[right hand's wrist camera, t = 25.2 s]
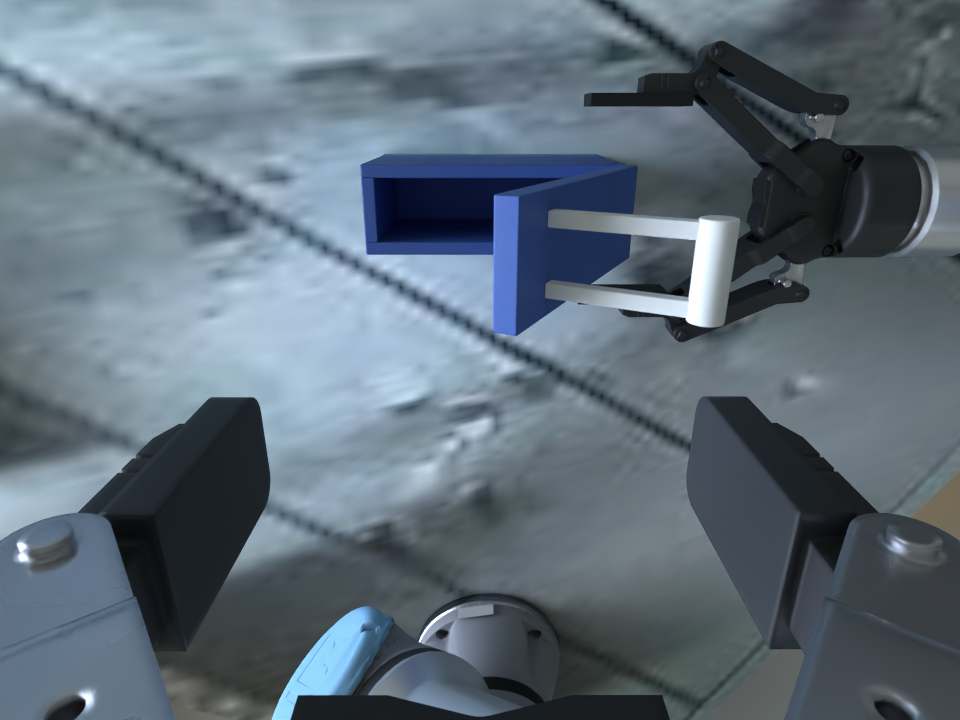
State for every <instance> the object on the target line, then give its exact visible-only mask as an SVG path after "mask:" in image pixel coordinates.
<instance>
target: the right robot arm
mask: <svg viewBox="0 0 960 720" xmlns="http://www.w3.org/2000/svg"><path fill="white" fill-rule="evenodd" d="M269 491H270V470H269V463H268V456H267V450H266V443H265V436H264V430H263V423H262V416H261V410H260V406H259V404H258V402H257V400H256V399H255V398H253V397H212V398H209V399H208V400H207V401H206V402H205V403H204V404H203V405H202V406H201V407H200V408H199V409H198V410H197V411H196V412H195V413H194V414H193V416H192V417H191V418H190V419H189V420H188V421H187V422H186V423H185V424H178V425H176V426H175V427H173V428H171V429H169V430H167V431H166V432H164V433H162V434H160V435H158V436H156V437H155V438H153V439H152V440H151V441H150V442H149V443H148V444H147V445H146V446H145V447H144V448H143V449H142V450H141V451H140V452H139V453H138V454H137V455H136V459H132V460H131V461H130V462H129V463H128V464H127V465H125V466H124V467H123V468H122V472H121V473H117V474H116V475H115V476H114V477H113V478H112V479H111V480H110V481H109V482H108V483H107V484H106V485H105V486H104V487H103V488H102V489H101V490H100V491H99V492H98V493H97V494H96V495H95V496H94V497H93V498H92V499H91V500H90V501H89V502H88V503H87V504H86V505H85V506H84V507H83V508H82V509H81V510H80V511H79V512H78V513H72V514H64V515H59V516H54V517H51V518H47V519H44V520H41V521H38V522H35V523H33V524H30V525H28V526H25V527H23V528H21V529H19V530H17V531H15V532H13V533H12V534H10V535H9V536H7V537H5V538H4V539H2V540H1V541H0V720H176V719H175V716H174V713H173V710H172V707H171V703H170V700H169V697H168V694H167V691H166V688H165V685H164V682H163V679H162V676H161V673H160V669H159V666H158V663H157V660H156V657H155V654H154V651H187V649H188V647H189V645H190V643H191V642H192V640H193V638H194V636H195V634H196V632H197V631H198V629H199V627H200V625H201V623H202V621H203V620H204V618H205V616H206V614H207V612H208V611H209V609H210V607H211V605H212V603H213V601H214V600H215V598H216V596H217V594H218V592H219V591H220V589H221V587H222V585H223V583H224V581H225V580H226V578H227V576H228V574H229V572H230V570H231V569H232V567H233V565H234V563H235V561H236V560H237V558H238V556H239V554H240V552H241V550H242V549H243V547H244V545H245V543H246V541H247V539H248V538H249V536H250V534H251V532H252V530H253V529H254V527H255V525H256V523H257V521H258V519H259V518H260V516H261V514H262V512H263V510H264V508H265V506H266V504H267V501H268V497H269ZM687 491H688V496H689V500H690V503H691V506H692V508H693V510H694V511H695V513H696V515H697V517H698V519H699V521H700V523H701V524H702V526H703V528H704V530H705V532H706V534H707V535H708V537H709V539H710V541H711V543H712V545H713V547H714V548H715V550H716V552H717V554H718V556H719V558H720V559H721V561H722V563H723V565H724V567H725V569H726V571H727V572H728V574H729V576H730V578H731V580H732V582H733V583H734V585H735V587H736V589H737V591H738V593H739V594H740V596H741V598H742V600H743V602H744V604H745V606H746V607H747V609H748V611H749V613H750V615H751V617H752V618H753V620H754V622H755V624H756V626H757V628H758V630H759V631H760V633H761V635H762V637H763V639H764V641H765V642H766V644H767V646H768V648H769V649H802V650H803V652H804V654H805V657H804V660H803V663H802V666H801V669H800V673H799V676H798V679H797V682H796V685H795V688H794V691H793V694H792V697H791V701H790V704H789V707H788V710H787V713H786V716H785V719H784V720H960V541H959V540H957V539H956V538H955V537H953V536H951V535H950V534H948V533H947V532H945V531H943V530H941V529H939V528H937V527H935V526H932V525H930V524H927V523H925V522H922V521H919V520H916V519H913V518H909V517H906V516H901V515H896V514H888V513H879V512H878V511H877V510H876V509H875V508H874V507H873V506H871V505H870V504H869V503H868V502H867V501H866V500H865V499H864V498H863V497H862V496H861V495H860V494H859V493H858V492H857V491H856V490H855V489H854V488H853V487H852V486H851V485H850V484H849V483H848V482H847V481H846V480H845V479H844V478H843V477H842V476H841V475H840V474H839V473H838V472H834V468H833V467H832V466H831V465H830V464H829V463H828V462H827V461H826V460H825V459H824V458H823V457H820V454H819V453H818V452H817V451H816V450H815V449H814V448H813V447H812V446H811V445H810V444H809V443H808V442H807V441H806V440H805V439H804V438H803V437H802V436H800V435H798V434H796V433H794V432H792V431H791V430H789V429H787V428H785V427H783V426H782V425H780V424H778V423H771V422H770V421H769V420H768V419H767V418H766V417H765V416H764V414H763V413H762V412H761V411H760V410H759V409H758V408H757V407H756V406H755V405H754V404H753V403H752V402H751V401H750V400H749V399H748V398H747V397H702V398H701V399H700V400H699V402H698V404H697V408H696V413H695V420H694V427H693V434H692V440H691V447H690V454H689V461H688V468H687ZM290 720H670V719H669V716H668V713H667V709H666V706H665V703H664V700H663V697H662V695H571V696H567V697H563V698H559V699H555V700H551V701H547V702H543V703H539V704H535V705H530V706H526V707H522V708H518V709H514V710H510V711H506V712H502V713H498V714H494V715H490V716H470V715H466V714H462V713H458V712H454V711H450V710H446V709H442V708H438V707H434V706H430V705H425V704H421V703H417V702H413V701H409V700H405V699H401V698H397V697H393V696H389V695H298V697H297V700H296V703H295V706H294V709H293V713H292V716H291V719H290Z"/></svg>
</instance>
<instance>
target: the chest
mask: <svg viewBox="0 0 960 720" xmlns="http://www.w3.org/2000/svg"><path fill="white" fill-rule="evenodd" d="M618 165H625V164H622V163H619V162H616V161H613V160H610V159H607V158H604V157H601V156H599V155H597V154H384V155H382V156H381V157H378V158H376V159H373V160H371V161H369V162H366V163H364V164H361V165H360V169H361V177H362V178H361V184H362V198H363V212H364V227H365V241H366V254H367V255H494V195H495V194H499V193H503V192H507V191H511V190H516V189H520V188H524V187H528V186H533V185H537V184H541V183H546V182H550V181H554V180H558V179H563V178H567V177H571V176H576V175H580V174H584V173H588V172H593V171H597V170H601V169H606V168H610V167H614V166H618Z"/></svg>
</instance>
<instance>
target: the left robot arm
mask: <svg viewBox="0 0 960 720" xmlns="http://www.w3.org/2000/svg"><path fill="white" fill-rule="evenodd" d="M717 73H718V74H720V75H722V76H724V77H725V78H727V79H729V80H731V81H733V82H735V83H736V84H738V85H740V86H742V87H744V88H746V89H747V90H749V91H751V92H753V93H755V94H757V95H758V96H760V97H762V98H764V99H766V100H767V101H769V102H771V103H773V104H775V105H777V106H778V107H780V108H782V109H784V110H787V111H789V112H793V113H798V114H799V116H798V120H799V123H800V124H801V125H802V126H804V127H806V128H807V129H808V130H809V132H810V137H809V139H806V140H804V141H803V142H801V143H800V144H798V145H797V146H795V147H794V148H792V149H790V148H789V147H788V146H786V145H785V144H784V143H782V142H781V141H779V140H777V139H776V138H775V137H774V136H773V135H772V134H771V133H770V132H769V131H768V130H767V129H766V128H765V127H764V126H763V125H762V124H761V123H760V122H759V121H758V120H757V119H756V118H755V117H754V116H753V115H752V114H751V113H750V112H749V111H748V110H747V109H746V108H745V107H744V106H743V105H742V104H741V103H740V102H739V101H738V100H737V99H736V98H735V97H734V96H733V95H732V94H731V93H730V92H729V91H728V90H727V89H726V88H725V87H724V86H723V85H722V84H721V83H720V82H719V81H718V80H717V79H716V76H717ZM693 100H694V101H695V102H696V103H697V104H699V105H700V106H701V107H702V108H703V109H704V110H705V111H706V112H707V113H708V114H709V115H710V116H711V117H712V118H713V119H714V120H715V121H716V122H717V123H718V124H719V125H720V126H721V127H722V128H723V129H724V130H725V131H726V132H728V133H729V134H730V135H731V136H732V137H733V138H734V139H735V140H736V141H737V142H738V143H739V144H740V145H741V146H742V147H743V148H744V149H745V150H746V151H747V152H748V153H749V156H750V157H751V158H752V159H753V160H754V161H755V162H756V163H757V164H758V165H759V166H760V167H761V168H762V170H761V172H760V173H759V175H758V176H757V178H754V179H753V185H752V196H753V202H752V204H751V207H750V209H749V211H748V216H747V223H748V224H749V225H750V229H751V231H749V232H748V233H746V234H745V235H744V236H742V237H741V238H739V239H738V240H737V247H736V253H735V259H734V266H733V272H732V279H731V282H733V281H734V280H736V279H737V278H739V277H740V276H742V275H743V274H744V273H746V272H747V271H749V270H750V269H752V268H753V267H755V266H757V265H761V264H764V263H765V262H767V261H769V260H770V259H771V258H773V257H774V256H776V255H779V256H780V257H781V258H782V259H784V260H786V262H785V265H784V267H783V268H782V269H780V270H778V271H775V272H773V273H771V274H770V276H769V279H765V280H761V281H757V282H754V283H751V284H749V285H747V286H744V287H742V288H739V289H737V290H735V291H732V292H730V293H729V298H728V304H727V310H726V317H725V323H724V324H723V325H722V326H724V325H726V324H729V323H731V322H734V321H736V320H739V319H741V318H743V317H746V316H748V315H751V314H753V313H756V312H758V311H761V310H763V309H765V308H768V307H770V306H773V305H775V304H782V303H794V302H802V301H804V300H806V299H807V298H808V296H809V289H808V288H807V287H806V286H804V285H803V280H804V271H805V263H808V262H809V261H811V260H814V259H817V258H821V257H881V256H887V257H960V146H927V145H913V146H905V147H899V146H885V145H838V144H836V143H834V142H833V141H831V136H832V133H833V129H834V126H835V122H836V118H837V115H841V114H843V113H844V112H845V111H846V110H847V109H848V107H849V100H848V98H847V97H846V96H843V95H836V94H825V93H816V92H814V91H813V90H811V89H809V88H807V87H805V86H804V85H802V84H800V83H798V82H796V81H795V80H793V79H791V78H789V77H787V76H786V75H784V74H782V73H780V72H778V71H777V70H775V69H773V68H771V67H769V66H768V65H766V64H764V63H762V62H761V61H759V60H757V59H755V58H753V57H752V56H750V55H748V54H746V53H744V52H743V51H741V50H739V49H737V48H735V47H734V46H732V45H730V44H728V43H726V42H724V41H718V42H715V43H711V44H708V45H705V46H703V47H702V48H701V49H700V50H699V52H698V55H697V61H696V63H695V65H694V67H693V69H692V70H691V71H690V72H689V73H652V74H648V75H645V76H642V77H640V78H638V89H637V93H589V94H585V96H584V106H693ZM690 283H691V276H690V277H689V278H687V279H686V280H685V281H683V282H682V283H680V284H679V285H678V286H676V287H675V288H673V289H672V290H670V291H669V292H667V291H666V290H665V289H664V288H663V287H662V286H661V285H660V284H590V285H596V286H604V287H612V288H620V289H627V290H635V291H643V292H651V293H659V294H667V295H675V296H683V297H689V291H690ZM578 304H584V303H578ZM618 309H619V308H618ZM619 311H620V312H621V313H622V314H623V315H625V316H628V317H664V318H665V322H666V323H665V327H666V329H667V330H668V331H669V332H670V333H671V335H672V336H673V337H674V338H675V339H676V340H677V341H679V342H685V341H687V340H690V339H692V338H695V337H697V336H700V335H702V334H704V333H707V332H709V331H712V330H714V329H717V328H719V327H700V326H696V325H693V324H690V323H688V322H687V321H686V318H683V317H675V316H668V315H661V314H654V313H647V312H640V311H633V310H626V309H619ZM722 326H720V327H722ZM559 665H560V652H559V645H558V638H557V635H556V632H555V629H554V627H553V626H552V624H551V622H550V621H549V620H548V618H547V617H546V616H545V615H544V614H543V613H542V612H541V611H539V610H538V609H537V608H535V607H534V606H532V605H530V604H529V603H527V602H524V601H522V600H520V599H517V598H514V597H510V596H505V595H498V594H478V595H471V596H467V597H463V598H460V599H457V600H454V601H452V602H450V603H448V604H446V605H444V606H443V607H441V608H440V609H438V610H437V611H436V612H435V613H434V614H432V616H431V617H430V618H429V619H428V620H427V621H426V623H425V624H424V626H423V628H422V630H421V632H420V635H419V639H418V641H417V640H415V639H414V638H412V637H411V636H409V635H408V634H407V633H405V632H404V631H403V630H402V629H401V628H400V627H399V626H397V625H396V624H395V623H394V619H393V618H392V617H391V616H386V615H385V614H384V613H382V612H381V611H379V610H378V609H376V608H374V607H370V606H365V607H360V608H358V609H355V610H353V611H351V612H350V613H348V614H347V615H345V616H344V617H343V618H341V619H340V620H339V621H338V622H337V623H336V624H335V625H334V626H332V627H331V628H330V629H329V630H328V631H327V632H326V633H325V634H324V635H323V636H322V638H321V639H320V640H319V641H318V642H317V643H316V645H315V646H314V647H313V648H312V649H311V651H310V652H309V653H308V655H307V656H306V657H305V659H304V660H303V661H302V663H301V664H300V666H299V667H298V669H297V670H296V672H295V673H294V675H293V676H292V678H291V680H290V681H289V683H288V685H287V687H286V688H285V690H284V692H283V694H282V696H281V698H280V700H279V703H278V705H277V707H276V709H275V712H274V715H273V718H272V720H290V719H291V716H292V713H293V709H294V706H295V703H296V700H297V697H298V695H389V696H393V697H397V698H401V699H405V700H409V701H413V702H417V703H421V704H425V705H430V706H434V707H438V708H442V709H446V710H450V711H454V712H458V713H462V714H466V715H470V716H490V715H494V714H498V713H502V712H506V711H510V710H514V709H518V708H522V707H526V706H530V705H535V704H539V703H543V702H547V701H551V700H552V698H553V693H554V689H555V685H556V681H557V676H558V672H559Z"/></svg>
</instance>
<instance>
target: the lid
mask: <svg viewBox="0 0 960 720" xmlns="http://www.w3.org/2000/svg"><path fill="white" fill-rule="evenodd" d="M636 176H637V166H633V165H618V166H614V167H610V168H606V169H601V170H597V171H593V172H588V173H584V174H580V175H576V176H571V177H567V178H563V179H558V180H554V181H550V182H546V183H541V184H537V185H533V186H528V187H524V188H520V189H516V190H511V191H507V192H503V193H499V194H495V195H494V266H493V332H496V333H501V334H507V335H513V336H517V335H519V334H520V333H521V332H523V331H524V330H526V329H527V328H529V327H530V326H531V325H533V324H534V323H536V322H537V321H539V320H540V319H541V318H543V317H544V316H546V315H547V314H549V313H550V312H551V311H553V310H554V309H556V308H557V307H559V306H560V305H562V304H563V303H564V302H566V301H569V302H577V303H584V304H591V305H598V306H605V307H612V308H619V309H626V310H633V311H640V312H647V313H654V314H661V315H668V316H675V317H683V318H686V321H687V322H688V323H690V324H693V325H696V326H700V327H720V326H722V325H723V324H724V323H725V317H726V310H727V304H728V298H729V291H730V285H731V279H732V272H733V266H734V259H735V253H736V247H737V240H738V234H739V228H740V219H739V218H737V217H732V216H723V215H706V216H701V217H700V218H699V219H689V218H675V217H662V216H648V215H634V214H633V209H634V198H635V187H636ZM631 235H642V236H653V237H665V238H676V239H688V240H696V245H695V253H694V261H693V268H692V276H691V283H690V291H689V297H683V296H675V295H667V294H659V293H651V292H643V291H635V290H627V289H620V288H612V287H604V286H596V285H590V284H592V283H593V282H594V281H596V280H597V279H599V278H600V277H602V276H603V275H605V274H606V273H607V272H609V271H610V270H612V269H613V268H615V267H616V266H617V265H619V264H620V263H622V262H623V261H625V260H626V259H627V258H629V253H630V242H631Z"/></svg>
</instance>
